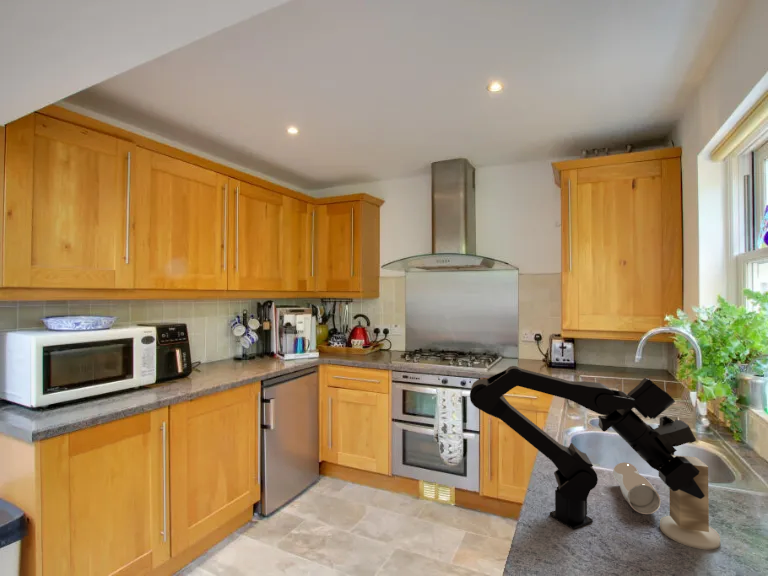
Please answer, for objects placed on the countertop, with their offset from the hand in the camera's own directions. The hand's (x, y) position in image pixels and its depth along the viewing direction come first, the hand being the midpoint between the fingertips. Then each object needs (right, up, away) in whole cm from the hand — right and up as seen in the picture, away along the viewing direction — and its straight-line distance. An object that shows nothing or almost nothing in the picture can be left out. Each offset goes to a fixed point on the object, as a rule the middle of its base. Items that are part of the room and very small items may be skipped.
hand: (695, 490), depth 84 cm
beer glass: (-1, -7, +22) cm, 23 cm away
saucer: (-1, -9, 0) cm, 9 cm away
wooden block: (-1, -7, 0) cm, 7 cm away
